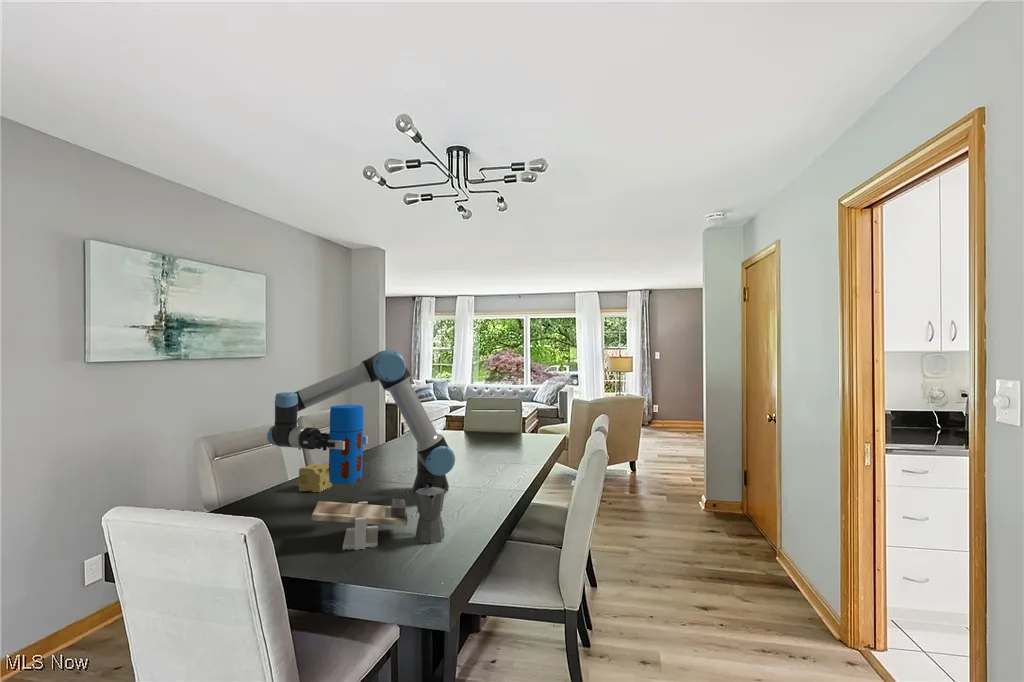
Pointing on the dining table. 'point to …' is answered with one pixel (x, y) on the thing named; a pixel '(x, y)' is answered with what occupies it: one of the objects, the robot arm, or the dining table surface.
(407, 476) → the dining table surface
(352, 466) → the thermos
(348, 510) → the beam
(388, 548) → the dining table surface
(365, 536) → the fulcrum
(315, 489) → the cheese
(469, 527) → the dining table surface
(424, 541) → the coffeepot
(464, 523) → the dining table surface
